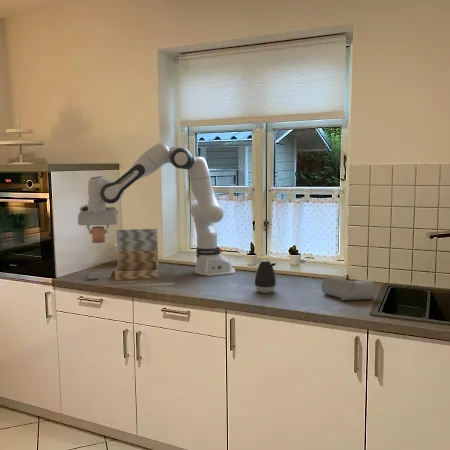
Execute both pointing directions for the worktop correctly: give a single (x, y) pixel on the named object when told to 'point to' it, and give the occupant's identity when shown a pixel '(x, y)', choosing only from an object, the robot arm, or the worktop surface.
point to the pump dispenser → (265, 277)
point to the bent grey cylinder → (348, 288)
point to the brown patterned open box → (137, 254)
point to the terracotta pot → (98, 234)
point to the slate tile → (99, 275)
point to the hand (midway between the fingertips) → (98, 233)
